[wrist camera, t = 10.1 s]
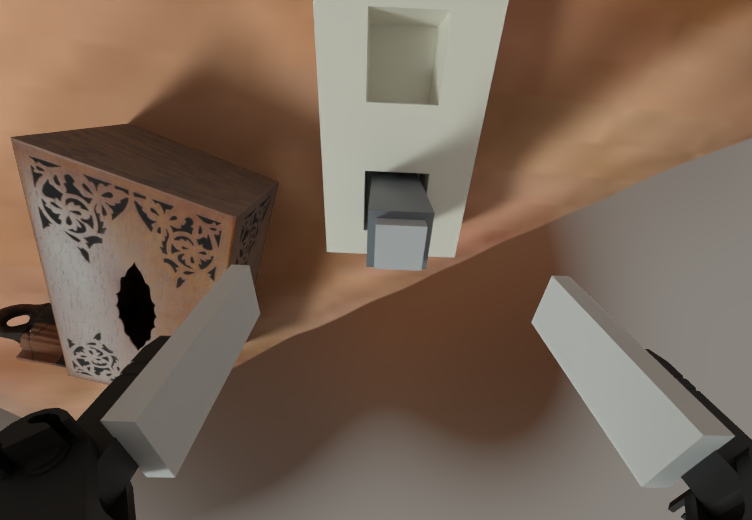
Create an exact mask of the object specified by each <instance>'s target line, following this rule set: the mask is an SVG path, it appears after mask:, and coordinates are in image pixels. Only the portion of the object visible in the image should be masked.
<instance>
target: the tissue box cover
mask: <svg viewBox="0 0 752 520" xmlns="http://www.w3.org/2000/svg"><path fill="white" fill-rule="evenodd" d="M11 141H12V145H13V149H14V153H15V158H16V162H17V166H18V170H19V174H20V178H21V182H22V186H23V191H24V195H25V199H26V203H27V207H28V211H29V215H30V219H31V224H32V228H33V232H34V236H35V240H36V244H37V248H38V252H39V257H40V261H41V265H42V269H43V273H44V277H45V281H46V285H47V290H48V294H49V298H50V302H51V306H52V310H53V314H54V318H55V323H56V327H57V331H58V335H59V339H60V343H61V347H62V351H63V355H64V360H65V364H66V368H67V372H68V375H69V376H74V377H78V378H82V379H86V380H91V381H95V382H99V383H104V384H108V385H110V383H111V382H112V381H113V380H114V379H115V378H116V377H117V376H119V375H120V372H121V371H122V370H123V369H124V368H125V367H126V366H127V365H128V364H130V363H131V360H132V359H133V358H134V357H135V356H136V355H137V354H138V353H139V352H140V350H141V349H142V348H143V347H145V346H146V345H147V344H149V343H150V342H152V341H153V340H155V339H156V338H158V337H159V336H172V335H173V333H174V332H175V331H176V330H177V329H178V327H179V326H180V325H181V324H182V323H183V321H184V320H185V319H186V318H187V317H188V315H189V314H190V313H191V312H192V311H193V310H194V308H195V307H196V306H197V305H198V304H199V302H200V301H201V300H202V299H203V298H204V296H205V295H206V294H207V293H208V292H209V290H210V289H211V288H212V287H213V286H214V284H215V283H216V282H217V281H218V280H219V279H220V277H221V276H222V275H223V274H224V273H225V271H226V270H227V269H228V268H229V267H230V265H249V266H250V271H251V275H252V280H253V284H254V287H255V282H256V278H257V273H258V269H259V265H260V260H261V256H262V251H263V247H264V243H265V238H266V234H267V230H268V225H269V221H270V216H271V212H272V208H273V203H274V199H275V194H276V190H277V186H278V182H277V181H274V180H272V179H269V178H267V177H264V176H261V175H259V174H256V173H254V172H251V171H249V170H246V169H243V168H241V167H238V166H236V165H233V164H230V163H228V162H225V161H223V160H220V159H218V158H215V157H212V156H210V155H207V154H205V153H202V152H199V151H197V150H194V149H192V148H189V147H186V146H184V145H181V144H179V143H176V142H174V141H171V140H168V139H166V138H163V137H161V136H158V135H155V134H153V133H150V132H148V131H145V130H143V129H140V128H137V127H135V126H132V125H130V124H121V125H112V126H104V127H95V128H86V129H78V130H69V131H60V132H51V133H43V134H34V135H25V136H16V137H11ZM135 283H136V284H135ZM136 307H137V309H136ZM137 314H138V315H137ZM141 315H142V316H141ZM144 316H146V317H144ZM148 317H149V318H148ZM151 318H153V319H151Z"/></svg>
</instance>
